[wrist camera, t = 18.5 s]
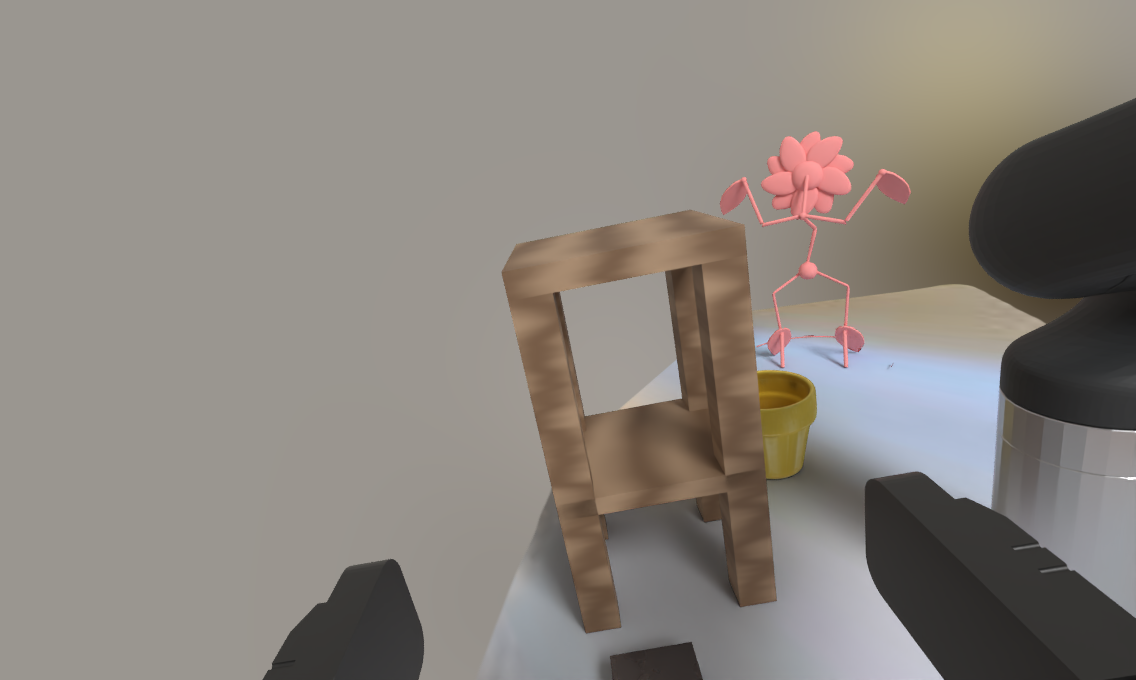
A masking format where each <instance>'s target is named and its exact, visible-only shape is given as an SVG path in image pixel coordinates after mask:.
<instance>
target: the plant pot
mask: <svg viewBox="0 0 1136 680" xmlns="http://www.w3.org/2000/svg"><path fill="white" fill-rule="evenodd" d="M757 378H758V390H759V401H760V413H761V425H762V436H763V448H764V460H765V471H766V479H782V478H787V477H790V476H793V475H795V474H796V473H798V472H799V471H800V470H801V468H802V466H803V461H804V456H805V449H806V444H807V438H808V432H809V427H810V425H811V424H812V423H813V422H814V420H815V418H816V415H817V402H816V390H815V387H814V385H813V383H812V382H811V381H810V380H809V379H807V378H806V377H804V376H802V375H799V374H796V373H792V372H787V371H778V370H762V371H757Z"/></svg>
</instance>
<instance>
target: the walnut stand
mask: <svg viewBox="0 0 1136 680" xmlns="http://www.w3.org/2000/svg"><path fill="white" fill-rule="evenodd" d="M663 271H665V274H666V282H667V289H668V296H669V304H670V311H671V318H672V326H673V333H674V340H675V348H676V355H677V363H678V370H679V378H680V385H681V392H682V399H677V400H672V401H666V402H661V403H655V404H650V405H645V406H639V407H634V408H628V409H623V410H617V411H612V412H607V413H601V414H596V415H591V416H584V410H583V406H582V400H581V395H580V390H579V385H578V380H577V376H576V371H575V366H574V361H573V356H572V351H571V346H570V341H569V336H568V331H567V326H566V322H565V316H564V311H563V306H562V301H561V296H560V291H565V290H570V289H575V288H580V287H585V286H591V285H596V284H601V283H606V282H611V281H616V280H622V279H627V278H632V277H637V276H642V275H647V274H652V273H657V272H663ZM502 276H503V281H504V285H505V289H506V293H507V298H508V302H509V306H510V311H511V315H512V319H513V323H514V327H515V332H516V336H517V340H518V345H519V349H520V353H521V357H522V362H523V366H524V370H525V375H526V379H527V383H528V388H529V391H530V396H531V400H532V404H533V409H534V413H535V418H536V422H537V426H538V430H539V434H540V439H541V443H542V448H543V451H544V456H545V460H546V465H547V469H548V473H549V477H550V482H551V486H552V490H553V495H554V499H555V503H556V507H557V512H558V516H559V520H560V525H561V529H562V533H563V537H564V542H565V546H566V550H567V555H568V559H569V563H570V567H571V572H572V576H573V580H574V585H575V589H576V593H577V597H578V602H579V606H580V610H581V614H582V619H583V623H584V627H585V632H586V633H591V632H597V631H603V630H608V629H614V628H620V627H621V622H620V615H619V608H618V601H617V596H616V591H615V586H614V581H613V576H612V571H611V567H610V562H609V557H608V552H607V547H606V542H605V540H606V539H608V533H607V526H606V520H605V515H604V514H607V513H613V512H618V511H624V510H629V509H635V508H641V507H646V506H652V505H657V504H663V503H669V502H674V501H680V500H686V499H691V498H696V503H697V506H698V509H699V511H700V513H701V516H702V518H703V520H704V522H708V521H714V520H720V519H722V526H723V534H724V543H725V551H726V559H727V568H728V576H729V581H730V584H731V586H732V588H733V591H734V593H735V595H736V598H737V600H738V602H739V605H740V607H744V606H750V605H756V604H761V603H767V602H773V601H777V599H776V588H775V576H774V564H773V553H772V541H771V530H770V518H769V506H768V495H767V483H766V471H765V460H764V448H763V436H762V425H761V413H760V401H759V390H758V378H757V366H756V355H755V343H754V331H753V320H752V310H751V309H752V308H751V297H750V285H749V273H748V262H747V250H746V239H745V227H744V224H740V223H736V222H733V221H729V220H726V219H722V218H718V217H714V216H711V215H708V214H704V213H700V212H697V211H693V210H688V211H682V212H677V213H672V214H667V215H662V216H657V217H652V218H646V219H641V220H636V221H631V222H626V223H621V224H617V225H611V226H606V227H601V228H596V229H591V230H586V231H581V232H576V233H571V234H565V235H561V236H556V237H550V238H546V239H541V240H535V241H530V242H526V243H520V244H516V246H515V248H514V250H513V252H512V254H511V256H510V257H509V260H508V261H507V263H506V265H505V267H504V269H503V270H502Z"/></svg>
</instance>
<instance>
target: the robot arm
mask: <svg viewBox="0 0 1136 680" xmlns="http://www.w3.org/2000/svg"><path fill="white" fill-rule="evenodd" d="M969 239H970V244H971V248H972V250H973V253H974V255H975V257H976V259H977V260H978V262H979V264H980V265H981V266H982V268H983V269H984V270H985V271H986V272H987V274H988V275H990V276H991V277H992V278H994V279H995V280H996V281H997V282H998V283H1000V284H1002V285H1003V286H1005V287H1007V288H1009V289H1011V290H1012V291H1015V292H1018V293H1021V294H1024V295H1027V296H1033V297H1040V298H1046V299H1066V298H1081V297H1084V298H1083V299H1082V300H1081V301H1080V302H1079V303H1078V304H1077V305H1076V306H1075V307H1073V308H1072V309H1071V310H1069V311H1068V312H1067V313H1065V314H1064V315H1062V316H1061V317H1059V318H1057V319H1055V320H1054V321H1052V322H1050V323H1048V324H1046V325H1044V326H1042V327H1040V328H1038V329H1035V330H1033V331H1031V332H1029V333H1027V334H1025V335H1023V336H1021V337H1020V338H1018V339H1017V340H1015V341H1014V342H1012V343H1011V344H1010V345H1009V346H1008V348H1007V349H1006V350H1005V352H1004V355H1003V357H1002V363H1001V373H1000V386H999V401H998V415H997V432H996V447H995V461H994V476H993V490H992V504H991V509H989V508H987V507H985V506H983V505H981V504H978V503H976V502H974V501H972V500H970V499H968V498H960V499H954V498H953V497H951V496H950V495H949V494H948V493H947V492H945V491H944V490H943V489H942V488H941V487H940V486H938V485H937V484H936V483H935V482H934V481H932V480H931V479H930V478H929V477H928V476H926V475H925V474H923V473H921V472H910V473H904V474H899V475H893V476H887V477H881V478H875V479H870V480H868V482H867V483H866V486H865V534H866V559H867V564H868V568H869V571H870V574H871V577H872V579H873V581H874V584H875V585H876V587H877V589H878V591H879V593H880V594H881V596H882V597H883V598H884V600H885V601H886V603H887V604H888V605H889V607H890V608H891V609H892V611H893V612H894V613H895V615H896V616H897V617H898V619H899V620H900V621H901V623H902V624H903V625H904V627H905V628H906V629H907V631H908V632H909V633H910V635H911V636H912V637H913V639H914V640H915V641H916V643H917V644H918V645H919V647H920V648H921V649H922V651H923V652H924V653H925V655H926V656H927V657H928V659H929V660H930V661H931V663H932V664H933V665H934V667H935V668H936V669H937V671H938V672H939V673H940V675H941V676H942V677H943V679H944V680H1136V98H1135V99H1133V100H1130V101H1128V102H1126V103H1123V104H1121V105H1118V106H1116V107H1114V108H1111V109H1109V110H1107V111H1104V112H1102V113H1099V114H1097V115H1094V116H1092V117H1090V118H1087V119H1085V120H1083V121H1080V122H1078V123H1075V124H1073V125H1070V126H1068V127H1065V128H1063V129H1060V130H1058V131H1055V132H1053V133H1050V134H1048V135H1045V136H1043V137H1041V138H1038V139H1035V140H1033V141H1031V142H1029V143H1027V144H1025V145H1023V146H1022V147H1020V148H1018V149H1017V150H1015V151H1014V152H1013V153H1011V154H1010V155H1009V156H1008V157H1006V158H1005V159H1004V160H1003V161H1002V162H1001V163H1000V164H999V165H998V166H997V167H996V168H995V169H994V170H993V172H991V174H990V175H989V176H988V178H987V179H986V181H985V182H984V184H983V185H982V187H981V189H980V191H979V193H978V195H977V197H976V199H975V202H974V204H973V207H972V211H971V214H970V220H969ZM423 655H424V639H423V631H422V626H421V623H420V620H419V618H418V615H417V612H416V610H415V607H414V604H413V601H412V598H411V596H410V593H409V590H408V587H407V585H406V582H405V579H404V576H403V574H402V571H401V568H400V566H399V564H398V563H397V562H396V561H395V560H393V559H390V560H383V561H377V562H371V563H365V564H360V565H354V566H349V567H348V568H346V569H345V570H344V572H343V574H342V575H341V577H340V579H339V581H338V583H337V584H336V586H335V588H334V590H333V592H332V594H331V596H330V597H329V600H328V601H327V602H326V603H320V604H317V605H316V606H315V607H314V608H313V609H312V610H311V611H310V612H309V613H308V615H306V616H305V617H304V619H302V620H301V622H300V623H299V624H298V625H297V626H296V627H295V628H294V629H293V630H292V631H291V632H290V634H289V635H288V637H287V639H286V640H285V642H284V644H283V646H282V647H281V649H280V651H279V652H278V654H277V656H276V658H275V659H274V661H273V663H272V669H271V670H268V671H267V673H266V675H265V677H264V678H263V680H418V679H419V675H420V672H421V668H422V663H423Z"/></svg>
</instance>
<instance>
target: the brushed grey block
mask: <svg viewBox="0 0 1136 680" xmlns="http://www.w3.org/2000/svg"><path fill="white" fill-rule="evenodd" d="M610 659H611V667H612V675H613V680H703V679H702V675H701V672H700V669H699V665H698V662H697V658H696V655H695V652H694V648H693V645H692V642H688V643H683V644H677V645H671V646H665V647H660V648H654V649H648V650H642V651H636V652H631V653H625V654H619V655H613V656H610Z"/></svg>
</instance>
